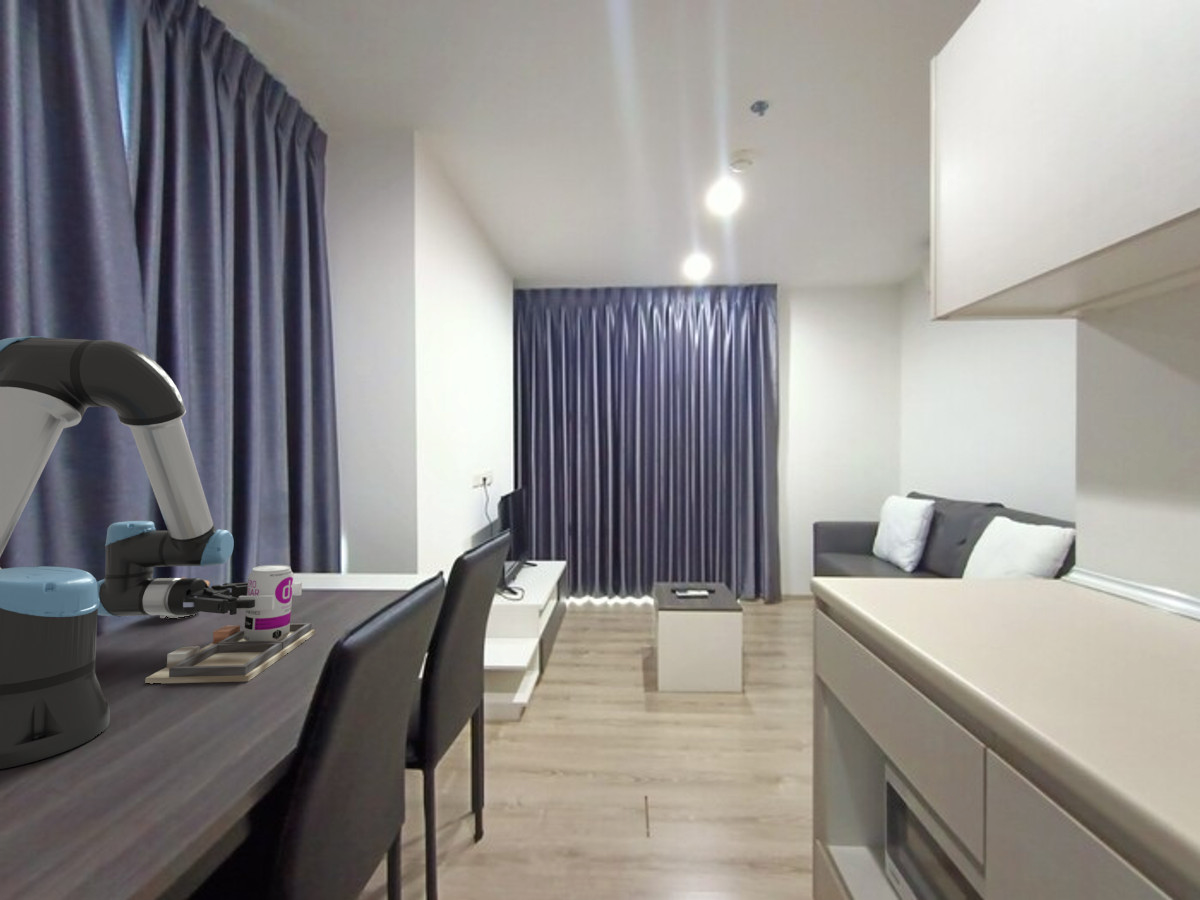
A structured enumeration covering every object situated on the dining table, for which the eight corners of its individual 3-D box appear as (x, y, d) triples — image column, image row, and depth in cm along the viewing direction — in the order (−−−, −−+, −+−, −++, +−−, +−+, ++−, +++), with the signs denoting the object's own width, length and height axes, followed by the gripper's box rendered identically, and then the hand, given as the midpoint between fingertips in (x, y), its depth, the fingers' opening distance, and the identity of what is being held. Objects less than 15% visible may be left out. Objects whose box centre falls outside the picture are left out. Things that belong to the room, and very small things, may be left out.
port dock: (248, 681, 93) (248, 661, 93) (145, 683, 91) (145, 663, 91) (315, 633, 119) (315, 618, 119) (235, 635, 117) (236, 619, 117)
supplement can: (297, 634, 115) (302, 565, 116) (270, 646, 107) (275, 572, 108) (263, 631, 116) (267, 563, 117) (233, 643, 108) (239, 570, 108)
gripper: (213, 600, 122) (312, 599, 124) (133, 632, 99) (256, 630, 100) (214, 567, 122) (313, 567, 124) (134, 592, 99) (257, 590, 101)
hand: (287, 595), depth 112 cm, fingers open, 11 cm apart
